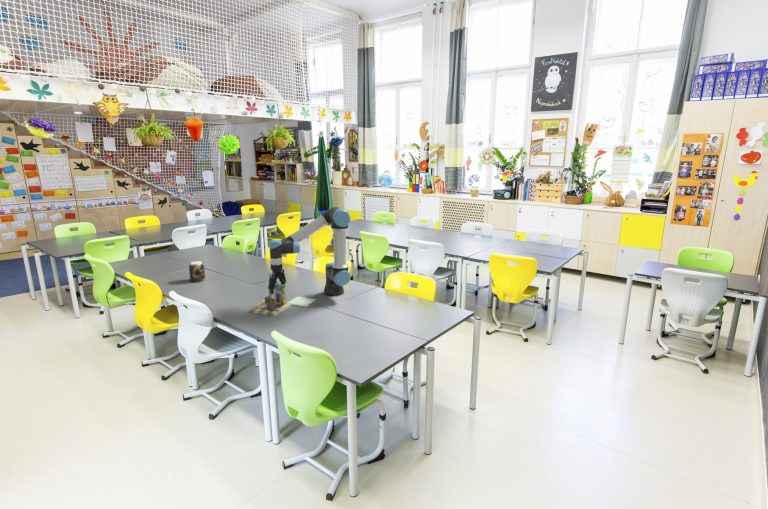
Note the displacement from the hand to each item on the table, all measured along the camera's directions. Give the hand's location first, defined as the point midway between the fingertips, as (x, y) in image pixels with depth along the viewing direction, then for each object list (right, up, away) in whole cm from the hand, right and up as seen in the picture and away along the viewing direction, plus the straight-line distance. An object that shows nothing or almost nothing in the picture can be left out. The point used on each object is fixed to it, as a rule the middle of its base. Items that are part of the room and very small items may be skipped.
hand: (278, 295), depth 272 cm
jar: (-81, +6, +60) cm, 101 cm away
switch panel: (-5, -9, -1) cm, 10 cm away
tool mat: (+13, -6, +12) cm, 19 cm away
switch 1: (-7, -5, +4) cm, 9 cm away
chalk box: (0, -5, +1) cm, 5 cm away
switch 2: (-2, -8, -8) cm, 12 cm away
